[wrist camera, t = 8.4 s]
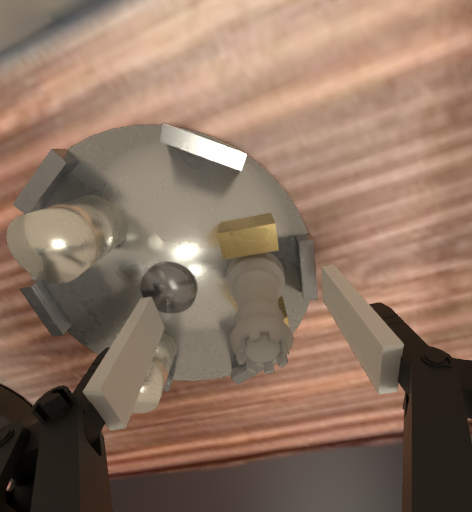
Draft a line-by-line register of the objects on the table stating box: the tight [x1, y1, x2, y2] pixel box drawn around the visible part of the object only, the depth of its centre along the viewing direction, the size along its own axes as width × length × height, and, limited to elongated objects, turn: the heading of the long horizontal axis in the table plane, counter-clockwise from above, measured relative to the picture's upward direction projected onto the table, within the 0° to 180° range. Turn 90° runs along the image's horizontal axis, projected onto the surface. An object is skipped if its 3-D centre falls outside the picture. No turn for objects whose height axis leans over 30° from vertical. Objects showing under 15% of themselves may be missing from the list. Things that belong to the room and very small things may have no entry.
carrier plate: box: [7, 123, 317, 413], centre depth 17 cm, size 23×23×6 cm
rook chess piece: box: [226, 252, 294, 374], centre depth 15 cm, size 4×4×8 cm
